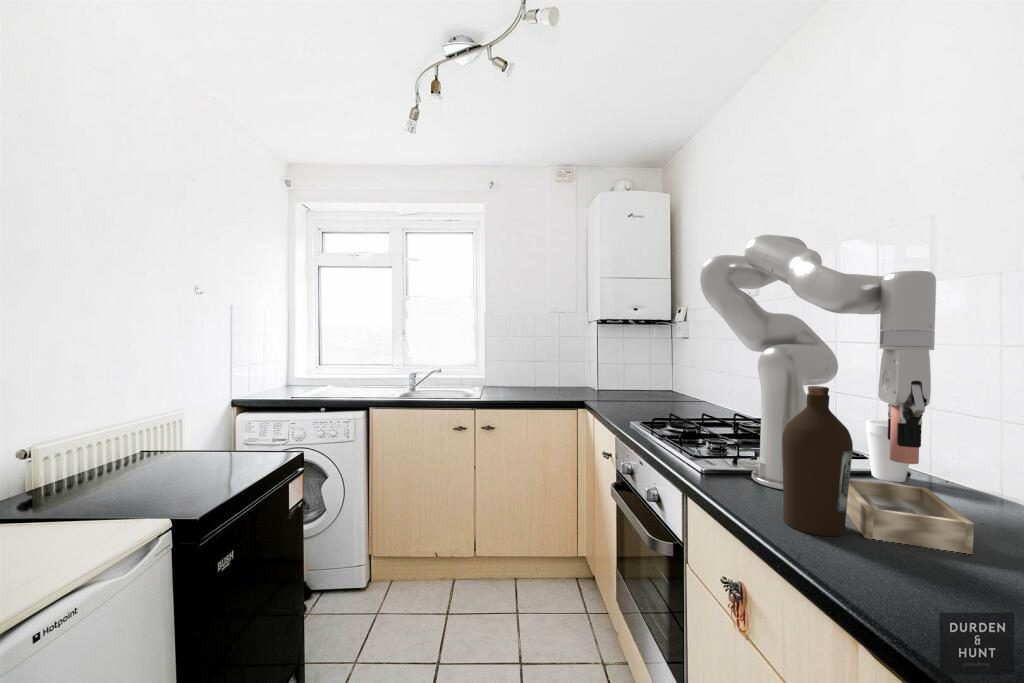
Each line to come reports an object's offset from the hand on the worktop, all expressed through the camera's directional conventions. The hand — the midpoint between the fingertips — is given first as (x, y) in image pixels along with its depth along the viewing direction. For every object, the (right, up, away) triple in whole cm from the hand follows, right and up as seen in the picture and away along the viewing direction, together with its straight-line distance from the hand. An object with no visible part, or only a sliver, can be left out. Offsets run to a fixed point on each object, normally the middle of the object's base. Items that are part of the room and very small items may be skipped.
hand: (903, 442), depth 85 cm
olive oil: (-16, -15, 0) cm, 22 cm away
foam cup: (+20, -15, +28) cm, 37 cm away
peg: (0, -3, 0) cm, 3 cm away
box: (0, -15, +1) cm, 15 cm away
